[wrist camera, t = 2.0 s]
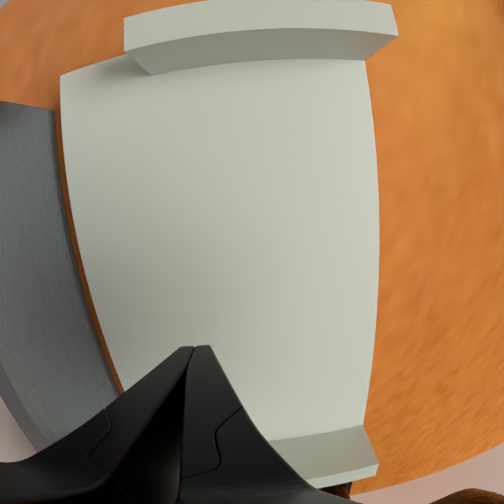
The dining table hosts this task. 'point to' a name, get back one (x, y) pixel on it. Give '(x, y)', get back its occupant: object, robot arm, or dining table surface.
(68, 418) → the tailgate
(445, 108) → the dining table surface
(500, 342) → the dining table surface
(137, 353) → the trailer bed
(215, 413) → the robot arm
